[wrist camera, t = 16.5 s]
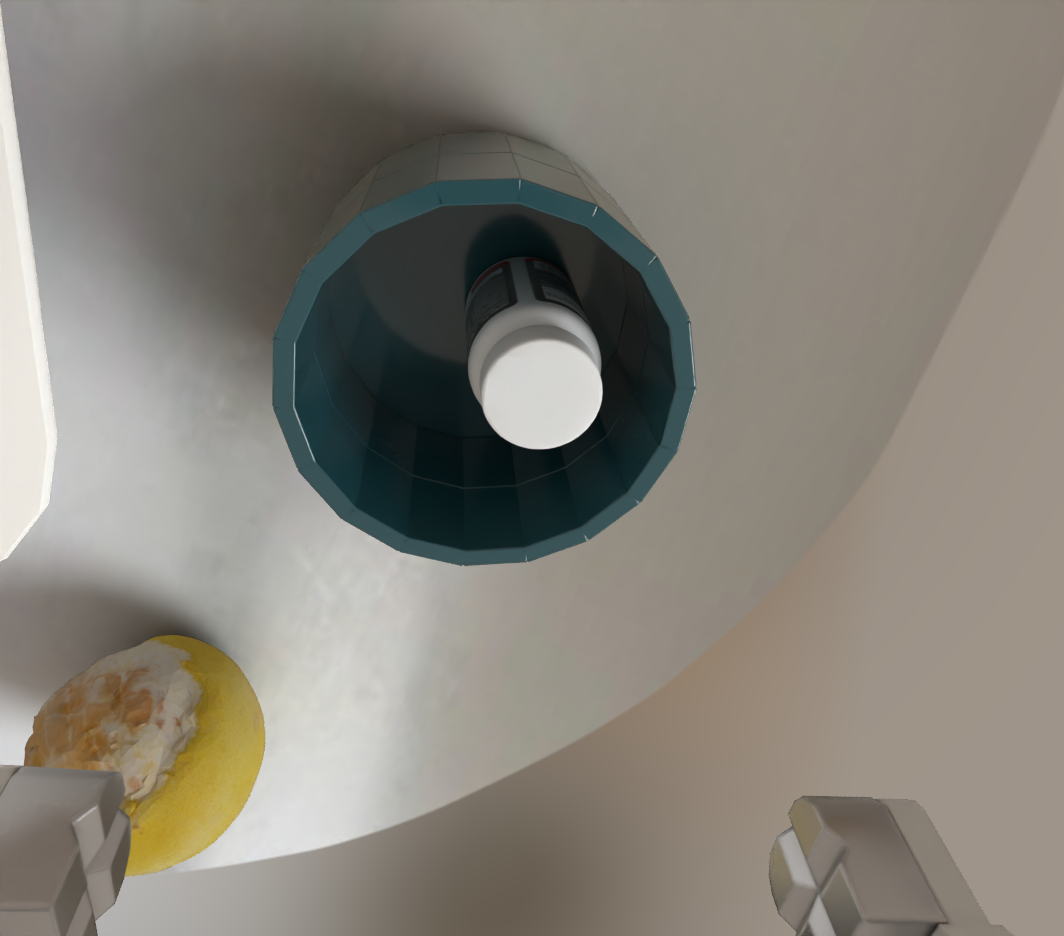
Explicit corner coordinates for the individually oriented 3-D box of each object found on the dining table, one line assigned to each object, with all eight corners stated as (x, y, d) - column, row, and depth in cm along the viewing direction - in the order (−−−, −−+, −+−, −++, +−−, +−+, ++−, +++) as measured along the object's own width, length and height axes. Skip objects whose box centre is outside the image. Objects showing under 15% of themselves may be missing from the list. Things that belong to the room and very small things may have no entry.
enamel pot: (675, 158, 31) (747, 213, 23) (603, 460, 38) (641, 580, 30) (321, 100, 29) (272, 140, 21) (311, 430, 36) (271, 551, 28)
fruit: (319, 650, 42) (285, 817, 34) (219, 765, 46) (165, 942, 37) (133, 559, 38) (41, 722, 30) (41, 693, 42) (-65, 872, 34)
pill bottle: (475, 371, 34) (480, 471, 27) (455, 263, 32) (455, 342, 25) (584, 355, 34) (618, 450, 27) (573, 245, 32) (607, 319, 25)
